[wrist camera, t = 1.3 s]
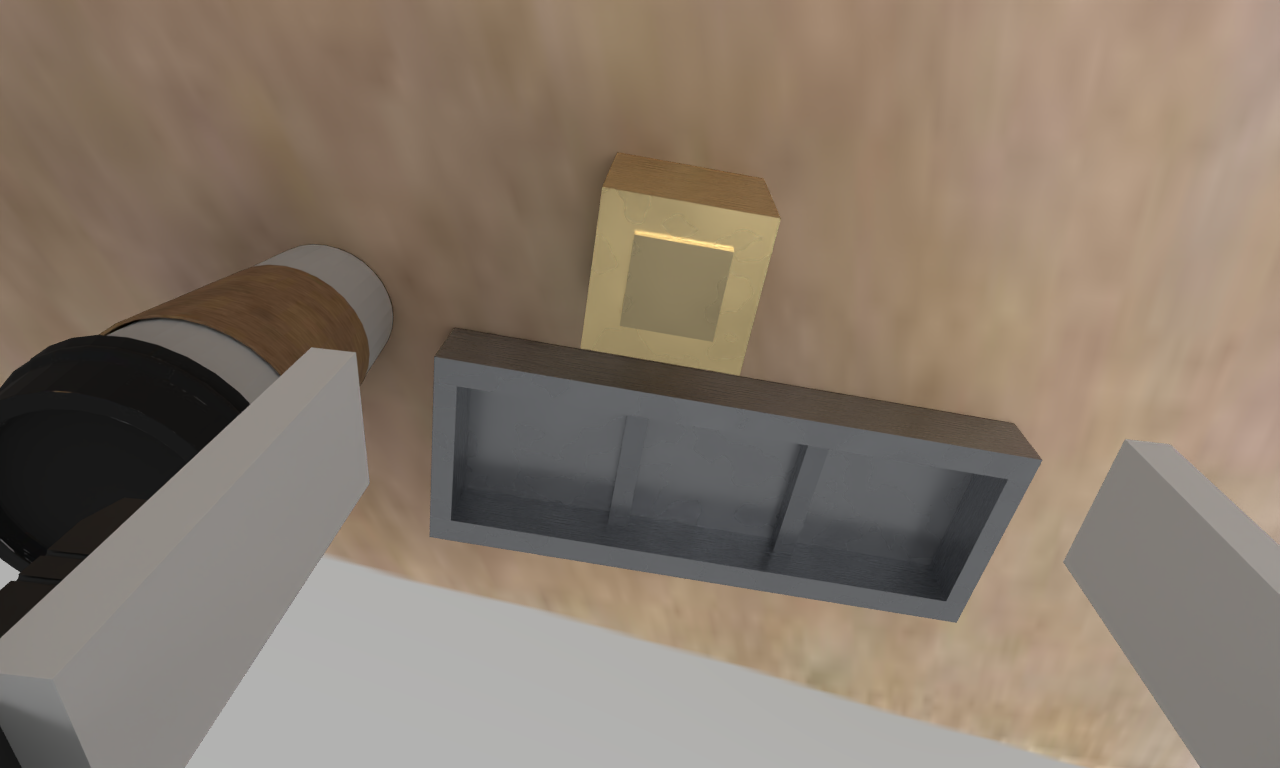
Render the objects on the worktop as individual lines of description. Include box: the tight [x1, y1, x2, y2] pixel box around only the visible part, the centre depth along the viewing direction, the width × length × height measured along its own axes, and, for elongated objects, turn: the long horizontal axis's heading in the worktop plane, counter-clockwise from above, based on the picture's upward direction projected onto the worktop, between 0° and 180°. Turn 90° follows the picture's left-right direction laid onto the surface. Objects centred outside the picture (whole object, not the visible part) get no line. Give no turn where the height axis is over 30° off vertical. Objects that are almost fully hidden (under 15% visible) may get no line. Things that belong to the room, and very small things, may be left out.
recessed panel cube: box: [581, 152, 781, 376], centre depth 28 cm, size 6×6×6 cm
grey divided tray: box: [430, 328, 1042, 623], centre depth 34 cm, size 26×10×3 cm, turn 81°
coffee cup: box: [0, 244, 393, 572], centre depth 26 cm, size 8×8×15 cm
